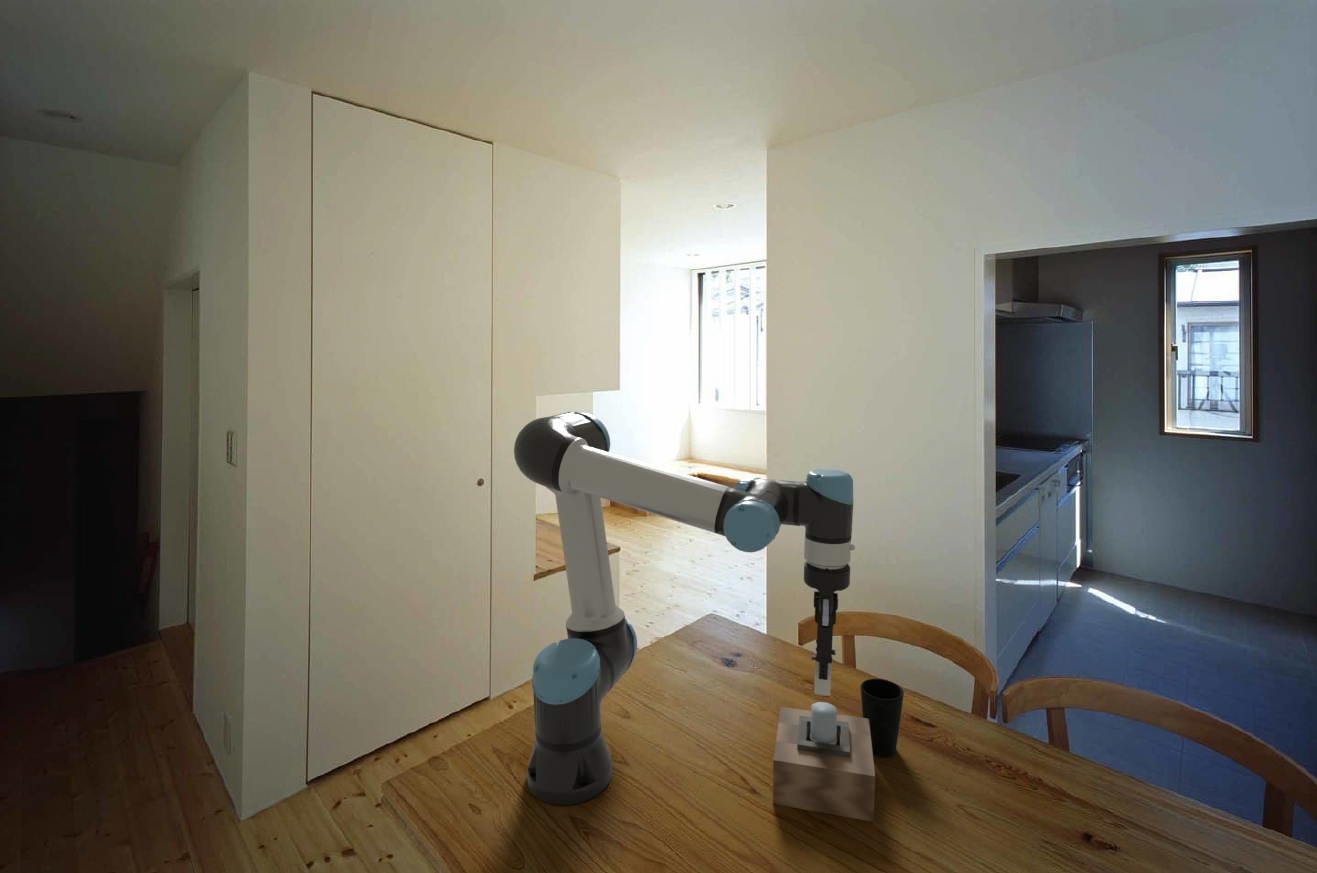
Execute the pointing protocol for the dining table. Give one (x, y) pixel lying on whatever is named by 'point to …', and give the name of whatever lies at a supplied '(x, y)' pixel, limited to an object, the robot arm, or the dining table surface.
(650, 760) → the dining table surface
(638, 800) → the dining table surface
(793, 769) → the socket block
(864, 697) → the cup
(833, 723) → the peg
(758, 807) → the dining table surface
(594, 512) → the robot arm
